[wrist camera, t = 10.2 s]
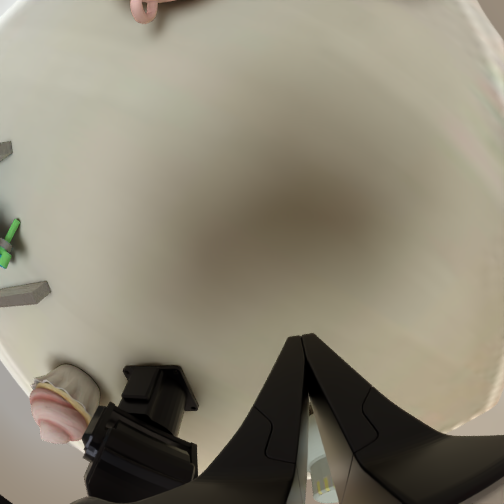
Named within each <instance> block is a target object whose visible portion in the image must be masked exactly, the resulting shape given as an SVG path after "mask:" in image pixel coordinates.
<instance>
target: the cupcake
mask: <svg viewBox="0 0 504 504" xmlns="http://www.w3.org/2000/svg"><path fill="white" fill-rule="evenodd" d="M30 386H31V388H32V389H33V391H32V392H31V394H30V403H31V410H32V415H33V417H34V419H35V421H36V423H37V424H38V426H39V427H40V433H41V439H42V440H43V441H47V442H51V443H53V444H65V443H68V442H69V441H79V440H81V439H82V436H83V434H84V432H85V430H86V429H87V427H88V425H89V423H90V421H91V419H92V417H93V415H94V413H95V412H96V410H97V408H98V405H99V400H100V391H99V388H98V386H97V385H96V383H95V382H94V381H93V380H92V379H91V378H90V377H89V376H88V375H87V374H86V373H85V372H83V371H82V370H80V369H79V368H77V367H75V366H72V365H68V364H63V365H60V366H58V367H57V368H56V369H54V370H53V371H51V372H50V373H48V374H47V375H44V376H40V377H36V378H34V384H32V385H30Z"/></svg>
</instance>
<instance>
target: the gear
mask: <svg viewBox="0 0 504 504" xmlns="http://www.w3.org/2000/svg"><path fill="white" fill-rule="evenodd" d="M19 224H20V222H19V221H18V220H16V219H14V221H13V223H12V225H11V227H10V229H9V231H8V233H7V235H6V237H5V239H2V238H1V237H0V266H1V267H3V268H4V269H6V268H7V266H8V264H9V261H10V259H11V257H12V256H11V255H10V254H9V253H10V251H11V249H12V247H13V246H12V245H11V244H10V242H11V240H12V238H13V236H14V234H15V232H16V230H17V228H18V226H19ZM7 252H8V253H7Z"/></svg>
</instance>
